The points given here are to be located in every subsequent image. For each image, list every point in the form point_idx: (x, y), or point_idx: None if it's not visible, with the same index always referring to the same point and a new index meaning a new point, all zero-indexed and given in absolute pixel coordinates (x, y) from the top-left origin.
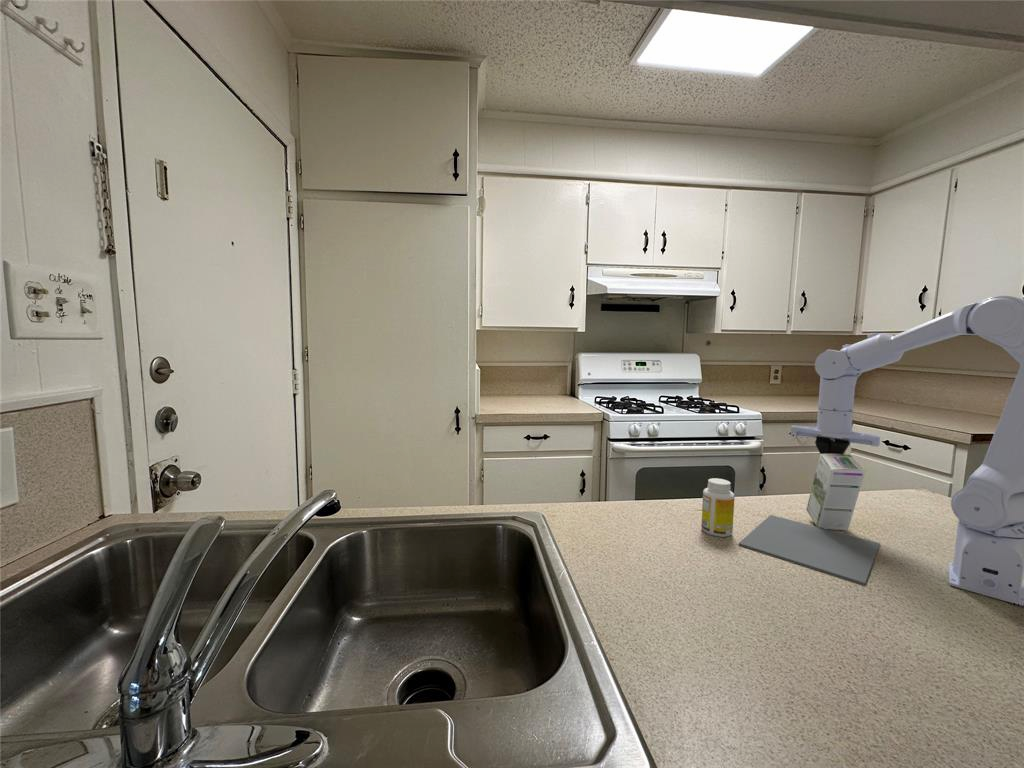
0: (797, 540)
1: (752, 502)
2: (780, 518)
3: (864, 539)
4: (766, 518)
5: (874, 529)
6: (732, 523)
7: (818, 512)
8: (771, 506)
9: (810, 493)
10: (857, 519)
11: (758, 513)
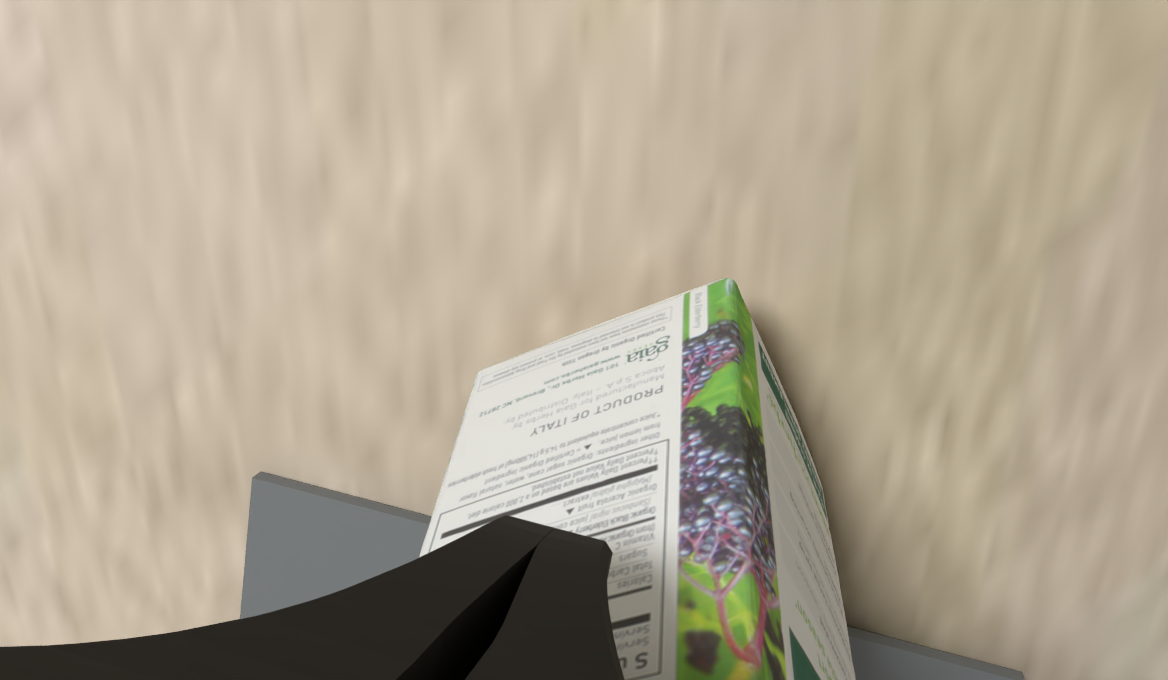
0: None
1: (70, 151)
2: (328, 523)
3: (917, 663)
4: (243, 588)
5: (1070, 268)
6: None
7: None
8: (221, 162)
9: (431, 522)
10: (961, 26)
11: (175, 441)
